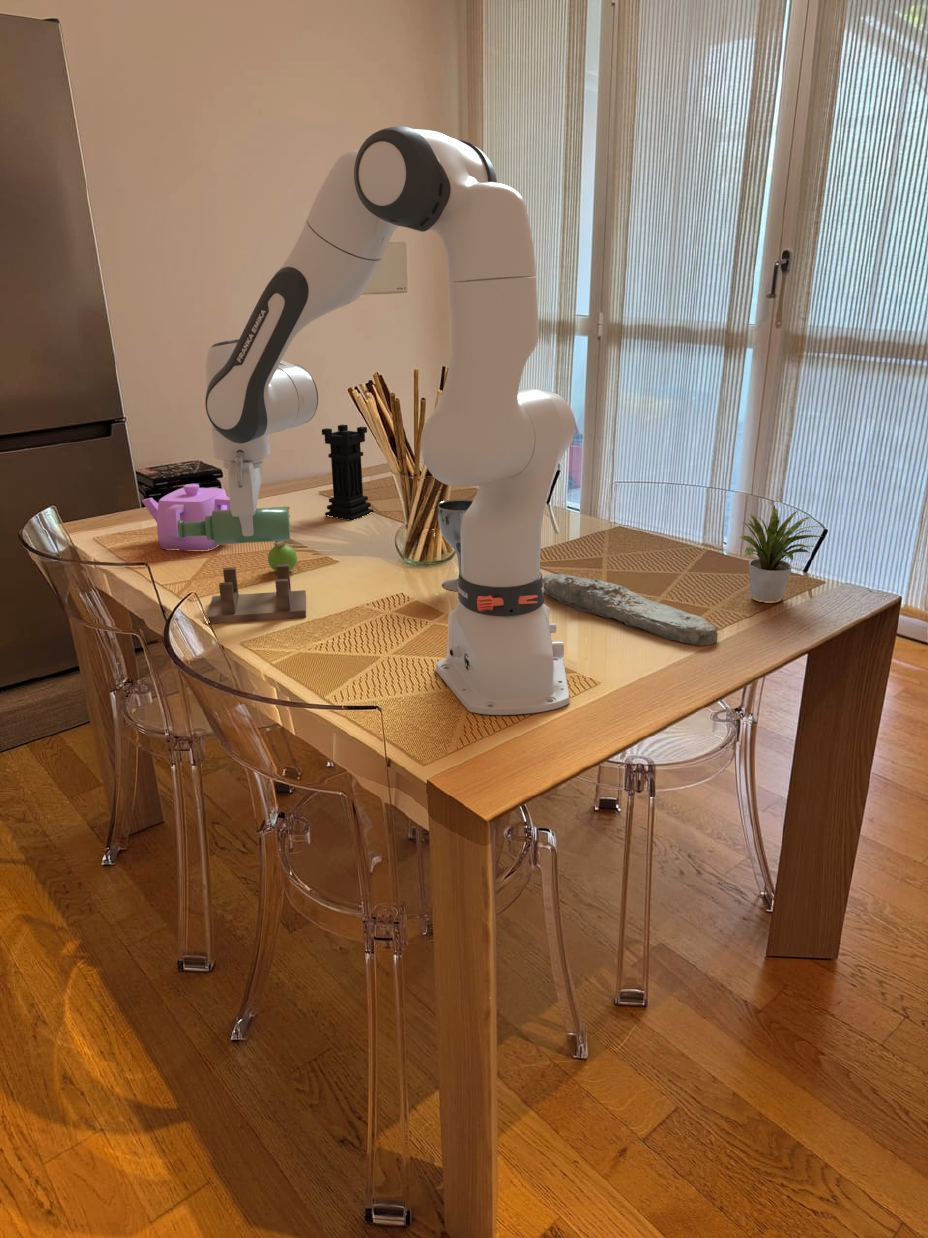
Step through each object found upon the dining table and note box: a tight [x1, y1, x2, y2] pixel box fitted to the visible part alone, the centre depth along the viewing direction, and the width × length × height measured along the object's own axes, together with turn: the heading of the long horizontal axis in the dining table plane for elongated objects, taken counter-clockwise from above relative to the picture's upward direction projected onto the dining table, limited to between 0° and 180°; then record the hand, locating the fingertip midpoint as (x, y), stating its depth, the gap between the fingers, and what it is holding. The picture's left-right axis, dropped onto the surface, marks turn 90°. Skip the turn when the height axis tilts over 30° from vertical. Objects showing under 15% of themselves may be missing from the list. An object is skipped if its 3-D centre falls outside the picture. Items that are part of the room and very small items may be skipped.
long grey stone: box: [542, 573, 719, 646], centre depth 150 cm, size 35×5×10 cm
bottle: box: [178, 506, 291, 546], centre depth 149 cm, size 18×6×6 cm
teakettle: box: [141, 483, 231, 550], centre depth 190 cm, size 17×17×12 cm
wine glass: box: [437, 498, 474, 592], centre depth 162 cm, size 8×8×15 cm
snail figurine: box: [267, 505, 298, 572], centre depth 171 cm, size 5×6×12 cm
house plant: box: [739, 505, 824, 601], centre depth 153 cm, size 14×14×16 cm
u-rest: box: [206, 564, 307, 625], centre depth 153 cm, size 16×10×6 cm, turn 99°
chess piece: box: [321, 424, 374, 521], centre depth 207 cm, size 8×8×20 cm
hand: (249, 528), depth 149 cm, fingers closed on bottle, 6 cm apart
